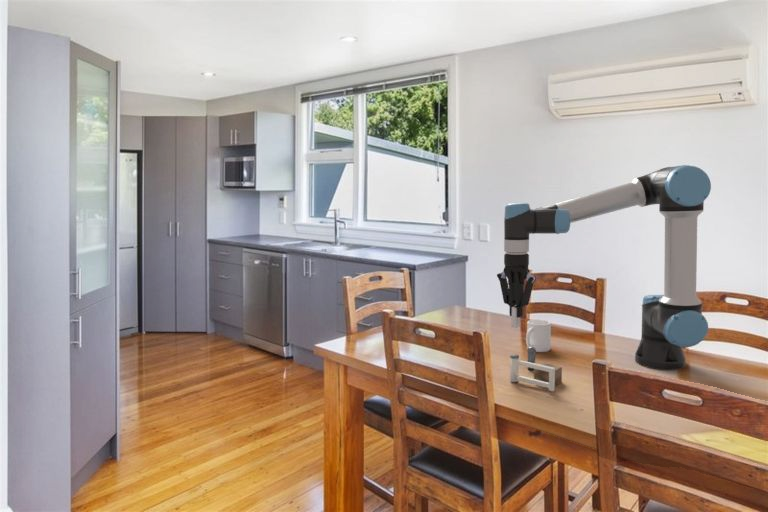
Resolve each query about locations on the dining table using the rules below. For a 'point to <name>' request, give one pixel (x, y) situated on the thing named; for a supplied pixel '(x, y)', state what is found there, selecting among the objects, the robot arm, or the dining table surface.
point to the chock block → (545, 375)
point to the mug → (539, 335)
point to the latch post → (531, 356)
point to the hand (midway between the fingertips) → (515, 326)
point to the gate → (515, 362)
